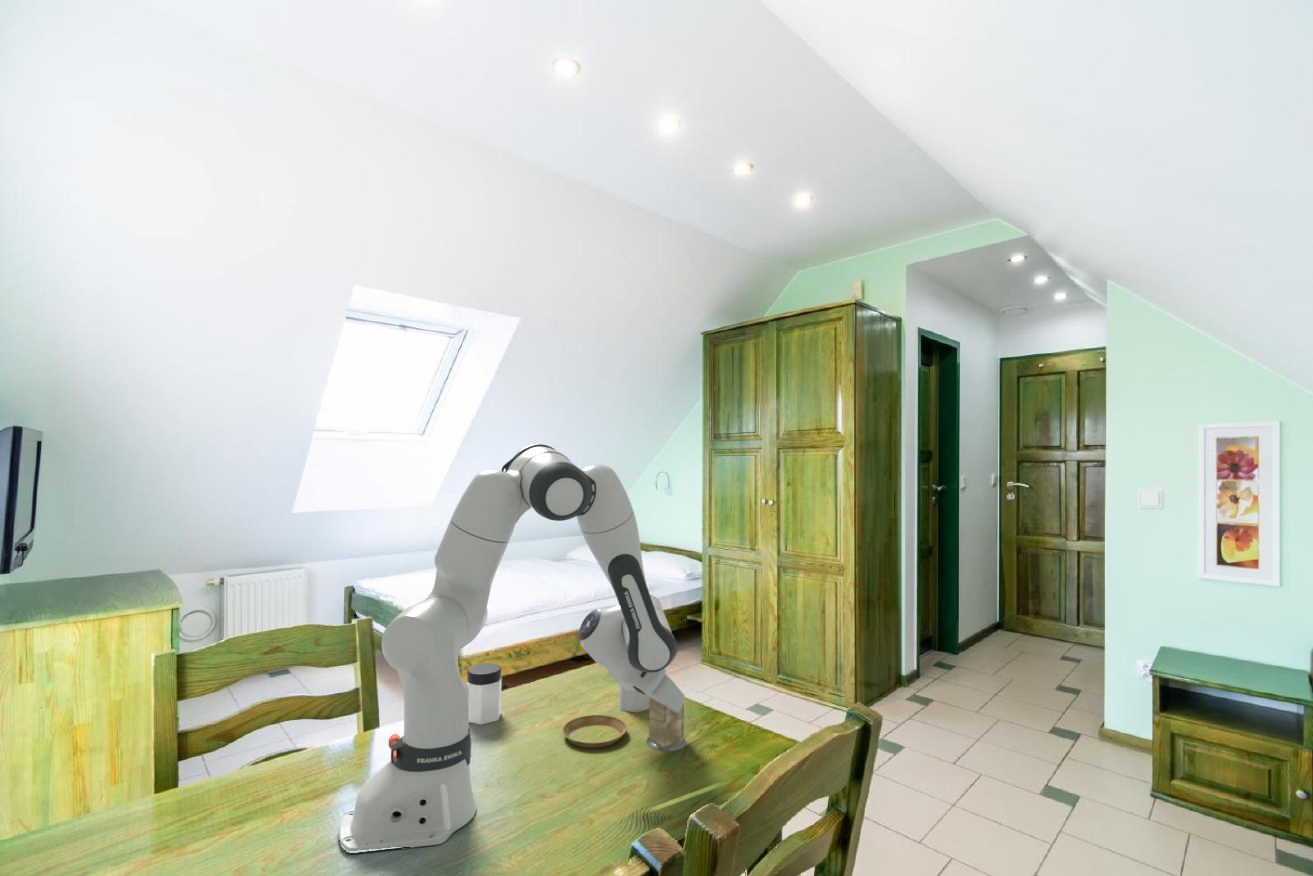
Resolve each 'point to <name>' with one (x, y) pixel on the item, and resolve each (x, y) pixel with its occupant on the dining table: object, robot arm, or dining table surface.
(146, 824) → the dining table surface
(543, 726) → the dining table surface
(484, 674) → the jar
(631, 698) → the white cylinder
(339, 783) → the dining table surface
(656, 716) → the vase
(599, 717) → the plant saucer
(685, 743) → the metal lid
